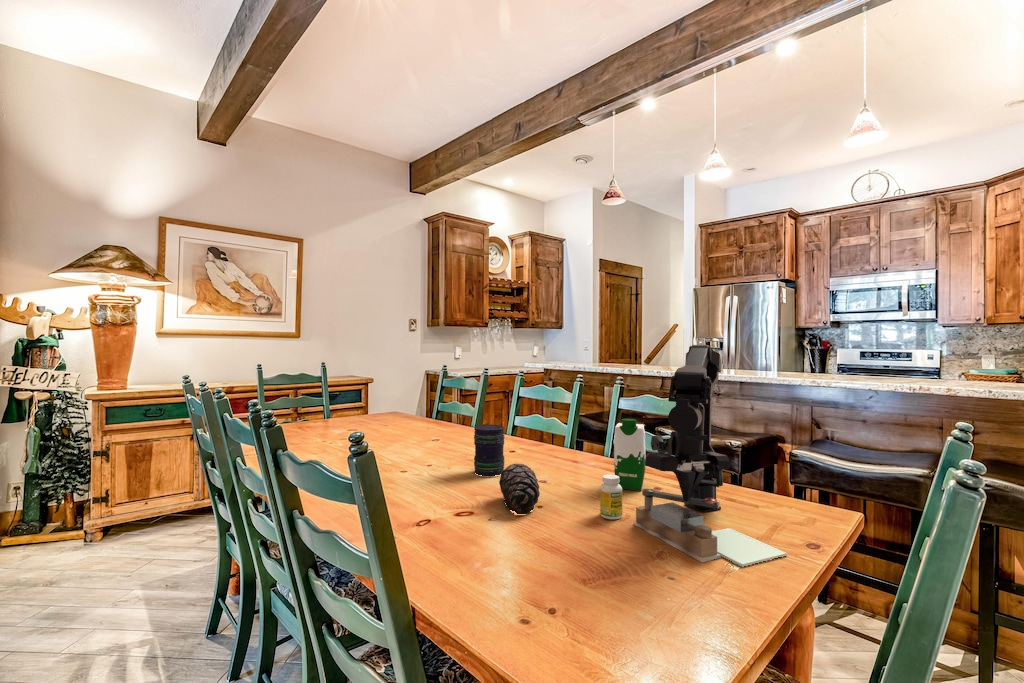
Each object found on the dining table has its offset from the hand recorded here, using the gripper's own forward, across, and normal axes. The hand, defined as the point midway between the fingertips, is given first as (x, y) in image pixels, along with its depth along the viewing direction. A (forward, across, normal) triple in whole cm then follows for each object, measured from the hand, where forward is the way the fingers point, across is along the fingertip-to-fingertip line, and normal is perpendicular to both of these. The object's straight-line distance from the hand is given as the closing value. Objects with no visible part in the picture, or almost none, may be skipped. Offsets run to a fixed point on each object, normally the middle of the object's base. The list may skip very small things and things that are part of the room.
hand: (686, 501), depth 102 cm
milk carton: (+7, -12, -35) cm, 38 cm away
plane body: (+8, +3, 0) cm, 9 cm away
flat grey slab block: (+4, +3, +1) cm, 5 cm away
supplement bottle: (+8, +7, -17) cm, 20 cm away
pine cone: (+10, +24, -32) cm, 41 cm away
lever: (+1, 0, -2) cm, 2 cm away
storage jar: (+9, +22, -65) cm, 69 cm away
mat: (+7, -6, +8) cm, 12 cm away
